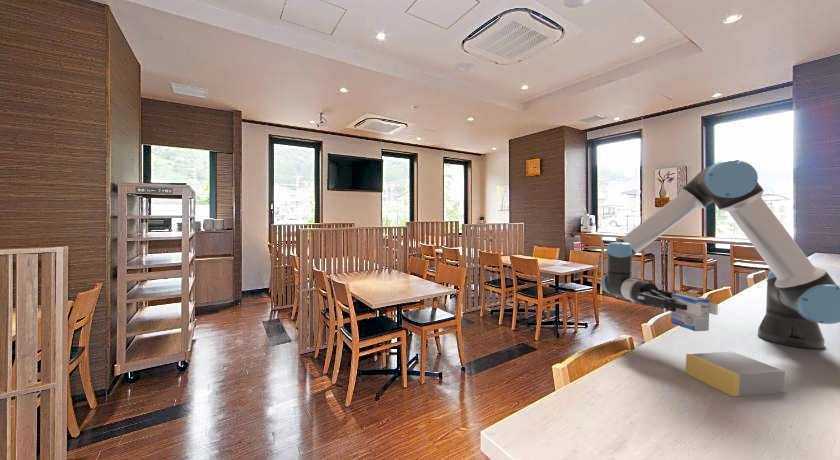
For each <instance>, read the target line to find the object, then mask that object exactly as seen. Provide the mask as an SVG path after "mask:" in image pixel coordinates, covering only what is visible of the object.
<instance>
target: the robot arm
mask: <svg viewBox="0 0 840 460" xmlns="http://www.w3.org/2000/svg"><path fill="white" fill-rule="evenodd" d="M758 176H759V175H758V171H757V170H756V168H755V167H754V166H753V165H751V163H748V162H746V161H743V160H739V159H729V160H728V159H725V160H721V161H718V162H716V163H714V164H713V165H712V164H711V165H709V166H707V167H705V168H703V169H702V170H701V171H700V172H699V173H697V174H696V175H695V176H694V178H692V179H691V180H690V181H689V182H688V183H686V185H685V186H683V187H682V188H681V189H680V191H679V194H678V195H677V196H675V197H674V198H672V199H671V200H670V201H668V202H667V203H665V205H663V206H662V207H661V208H660V209H658V210H656V211H655V212H654V213H652V215H650V216H649V217H648V218H647V219H645V220H644V221H642V222H641V223H640V224H639V225H637V226H636V227H635V228H633V229H632V230H631V231H630V232H628V233H627V234H626V235H624V236H623V237H622V238H620V240H618V241H611V242H609V243H608V244H607V248H606V251H605V256H606V259H607V273H606V274H604V275H603V276H602V279H601V280H600V281H601V282H600V286H601V289H602V290H603V291H604V292H605V293H607V294H610V295H611V296H614V297H618V298H621V299H625V300H629V301H631V302H632V303H637V304H640V305H644V306H651V305H653V306H655V307H659V308H662V309H666V310H667V309H670V312H671V311H676V308H677V310H681V311H684V312H687V313H691V314H694V315H697V316H701V305H697V304H693V303H690V302H686V301H682V300H677V302H676V300H674V299H672V294H682V293H681V292H678V291H674V290H672V291H665V290H664V289H660V288H658V286H657V285H656V284H654V283H653V282H649V281H647V280H642V279H638V278H632V269H633V268H632V267H633V266H632V263H633V261H632V260H633V257H634V256H635V255H636V254H637V253H638V252H640V251H642V250H643V249H644V248H646V247H647V246H648V245H650V244H651V243H653V242H654V241H656V239H658V238H660V237H661V236H662V235H663V234H665V233H666V232H668V231H669V230H670V229H672V228H673V227H675V226H676V225H677V224H679V223H680V222H682V221H683V220H684V219H686V218H687V217H688V216H689V215H691V214H692V213H693V212H695V211H696V210H698V209H699V210H700V209H704V208H705V207H707V206H708V205H710V204H712V203H714V204H715V205H716V207H717V208H718V209H719V211H725V212H728V213H729V214H730V216H731V217H732V219H733V220H734V222H735V223H736V224H737V226H738V227H739V228H740V229H741V231H742V232H743V233H744V235H745V236H746V237H747V239H748V240H749V242H750V244H751V245H752V246H753V247H754V249H755V250H756V252H757V253H758V254H759V256H760V257H761V258H762V259H763V260H764V262H765V264H766V265H767V266H768V267H769V268H768V269H770V270H771V271H769V272H768V274H767V279H766V282H767V284H766V306H765V307H766V309H765V315H764V316H763V318H762V321H761V323H760V324H759V327H758V328H757V335H758V337H760V338H761V339H764V340H766V341H770V342H773V343H775V344H776V343H777V344H780V345H784V346H788V347H789V346H790V347H796V348H802V349H803V348H804V349H823V348H825V342H826V340H825V337H824V336H823V332H822V330H821V327H820V325H819V324H823V325H832V324H833V325H834V324H838V323H840V285H838V284H837V283H836V282H835V281H834V279H833V278H832V277H831V275H830V274H829V273H828V272H827V270H826V269H825V268H822V267H818V266H817V267H816V266H815V265H813V264H812V262H811V261H810V259H809V258H808V256H807V255H806V254H805V252H804V251H803V250H802V249H801V248H800V246H799V245H798V244H797V242H796V240H794V239H793V237H792V236H791V235H790V233H789V232H788V230H787V229H786V228H785V227H784V225H783V224H782V223H781V221H780V220H779V219H778V217H777V216H776V215H775V214H774V212H773V211H772V210H771V208H770V207H769V205H767V203H766V202H765V200H764V199H763V198H762V196H763V194H764V188H763V187H762V186H761V185H760V183H759V182H758V179H759V177H758ZM694 296H695V295H694ZM695 297H698V296H697V295H696V296H695ZM718 309H719V306H718V304H717V303H713V302H710V305H709V314H711V315H713V316H714V315H716V316H717V315H719V312H718V311H719V310H718Z"/></svg>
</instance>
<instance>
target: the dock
mask: <svg viewBox="0 0 840 460" xmlns="http://www.w3.org/2000/svg"><path fill="white" fill-rule="evenodd" d="M785 372H786V371H785V370H783V369H780V368H777V367H776V366H775V367H774V366H772V365H769V364H767V363H764V362H761V361H760V360H756V359H753V358H751V357H749V356H745V355H742V354H741V353H737V352H735V351H732V350H731V351H719V352H718V351H717V352H715V351H714V352H705V353H704V352H702V353H700V352H699V353H686V355H685V374H687V375H689V376H691V377H693V378H695V379H696V380H699V381H701V382H702V383H705V384H707V385H709V386H711V387H712V388H715V389H716V390H719V391H721V392H723V393H726V394H727V395H729V396H731V397H741V396H742V397H743V396H754V395H763V394H764V395H765V394H766V395H767V394H776V393H777V394H778V393H784V392H785V377H786V376H785V374H786V373H785Z"/></svg>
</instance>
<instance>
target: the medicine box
mask: <svg viewBox="0 0 840 460" xmlns="http://www.w3.org/2000/svg"><path fill="white" fill-rule="evenodd" d="M672 299H674V300H676V302H677V300H682V301H686V302H690V303H693V304H697V305H701V316H697V315H694V314H691V313H687V312H684V311H681V310H677V308H676V311H671V310H670V323H671V324H672V325H675V326H679V327H682V328H684V329H686V330H687V329H688V330H690V331H693V332H708V331H710V330H709V329H710V328H709V327H710V313H709V305H710V303H711V300H710V299H706V298H703V297H700V296H697V297H695V295H691V294H686V293H681V294H672Z"/></svg>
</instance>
